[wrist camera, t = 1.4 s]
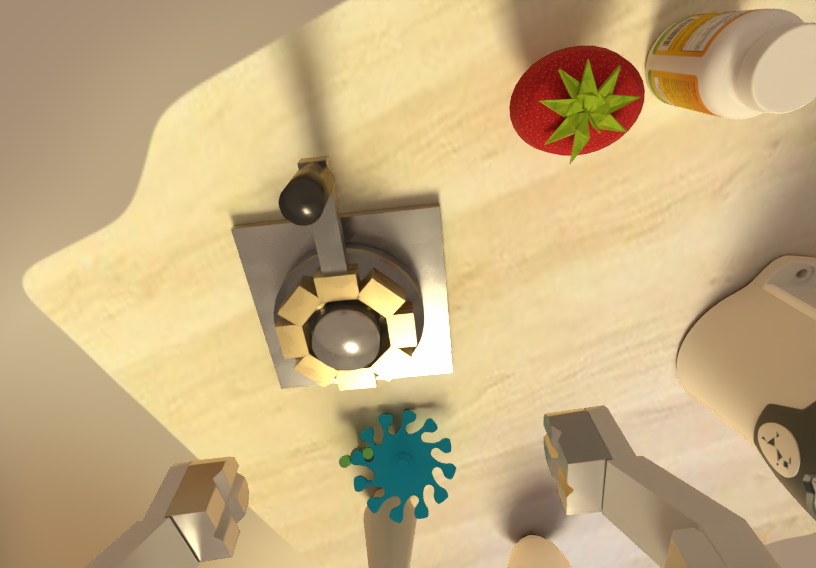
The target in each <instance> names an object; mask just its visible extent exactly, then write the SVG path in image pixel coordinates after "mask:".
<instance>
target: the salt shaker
mask: <svg viewBox="0 0 816 568" xmlns="http://www.w3.org/2000/svg"><path fill="white" fill-rule="evenodd" d="M382 496H384V489H383V488H381V489H378V490H376V492H375V494H374V496H373V497H382ZM400 503H401V500H400V498H399V497H397V496H393V497H391V498H389V499H387V500H386V501H384V502H383V504H382V505H381V507H380V509H379V511H378V512H377V513H372V512H371V510H370V509H369V507H368V506H367V507H366V509H365V512H364V528H365V538H366V547H367V556H368V565H369V568H410V562H411V555H412V548H413V541H414V534H415V527H416V520H417V518H415V515H414V510H415V508H414V506H413V505H412V503H411V501H410V499H408V500H407V501H406V503H405V505H404V511H403V512H404V517H403V520H402V522H401V523H397V522H395V521H393V520H391V519H390V518H389V514H390V512H391V510H392V509H393V508H394V507H397V506H399V505H400Z"/></svg>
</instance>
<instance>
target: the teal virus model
mask: <svg viewBox="0 0 816 568" xmlns="http://www.w3.org/2000/svg"><path fill="white" fill-rule="evenodd" d="M415 418H416V414H415V413H413V412H411V411H408V410H405V411H404V412H403V422H402V425H401V428H400V429H399V431H398V432H397V433H396V434H395V435H391V434H390V433H389V432H388V427H389V426H390V424H391V423H392V421H393V417H392V415H391V414H383V415H380V416H379V422H380V424H381V425H382V428H383V433H384V434H383V442H382V443H381V444H380V445H376V444H375V443H374V441H373V437H374V431H373V429H372V428H370V427H369V428H366V429H365V430H363V431H362V432H361V433H360V438H361V439H362V440H363V441H365V442H367V443H368V444H369V445H370V447H367V448H363V447H357V448H355V449H354V450H353V451H352V452H351V455H350V456H349V455H345V456H343V457H341V458H340V460H339V464H340V466H341V467H343V468H346V467H348V466H349V465H350V464H351V463H352V464H354V465H362V466H366V467H368V468H369V469H371V470H372V471H373V472H374V474H375V478H374V480H372V481H369V480H367V479H366V478H365V477H363V476H361V475H359V476H357V477H355V478H354V488H355V491H358V492H359V491H362V490H363V489H365V488H367V487H370V486H378V487H382V488H383V489H384V496H382V497H371V498H370V499H369V500H368V501H367V505H368V507H369V509H370V510H371V512H372V513H377V512H378V511H379V509H380V507H381V505H382V504H383V502H384V501H386V500H387V499H389V498H391V497H393V496H397V497H399V498H400V500H401V503H400V505H399V506H397V507H394V508H393V509H392V510H391V512H390V514H389V518H390V519H391V520H393V521H395V522H397V523H401V522H402V520H403V517H404V512H403V511H404V505H405V503H406V501H407V500H408V499H409V497H410V496H412V495H415V496H417V497H418V498H419V503H418V504H417V506H416V507H415V510H414V515H415V518H418V519H421V518H426V517H428V508H427V506H426V505H425V502H424V499H423V491H424V487H425V486H426V485H432V486H433V487H434V499H435V501H436V502H437V503H438V504H439V503H442V502H443V501H444V500H445V499H446V498H447V497H448V493H447V491H446V490H445V489H444V488H442V487H440V486H439V485H438V484H437V483H436V481H435V480H434V478H433V475H432V470H433V468H435V467H439V468H441V469H442V471H443V474H444V476H445V477H446V478H447V479H452V478H453V476H454V474H455V470H456V467H455V466H454V465H453V464H450V463H449V464H445V463H441V462H438V461H437V460H435V459H434V458H433V457H432V456H431V450H432V449H433V448H439V449H440V450H441V451H443V452H444V453H449V452H451V443H450V439H448V438H444V439H442V440H441V441H439V442H436V443H425V442H423V441H422V440H421V435H422V433H424V432H435V431H436V430H437V428H438V427H437V425H436V423H435V422H434V421H433V420H432V419H431V418H429V419H427V420H426V422H425V424H424V426H423V427H422V428H421V429H420V430H419V431H417V432H415V433H413V434H408V433H407V432H406V430H405V427H406V425H407V424H409V423H411V422H413V421H414V420H415Z"/></svg>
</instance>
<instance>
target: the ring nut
mask: <svg viewBox="0 0 816 568" xmlns="http://www.w3.org/2000/svg"><path fill="white" fill-rule="evenodd" d="M297 164H298V168H299V170H298V172H297V173H296V174H295V175H294V177H293V178H292V179H291V181H290V182H289V183H288V185H287V186H286V187H285V189H284V190H283V191H282V193H281V195H280V198H279V207H280V210H281V213H282V214H283V216H284V217H285V218H286V219H287V220H288V221H290V222H291V223H293V224H296V225H300V226H307V225H311V226H312V231H313V235H314V240H315V244H316V249H317V253H318V258H319V262H320V267H317V270H316V273H315V276H314V280H312V279H311V278H309V277H308V276H306V275H303V276H302V278H301V279H300V280H299V281H298V283H297V284H296V285H295V286H294V288H293V289H292V290H291V292H290V293H289V294H288V295H287V297H286V298H285V299H284V301H283V302H282V304H281V307H280V309H279V311H278V315H280V316H279V319H278V321H277V323H276V326H275V329H276V332H277V336H278V339H279V342H280V346H281V349H282V352H283V356H284V359H287V358H297V360H296V363H295V366H294V370H296V371H297V372H299V373H301V374H303V375H304V376H306V377H308V378H310V379H311V380H313V381H315V382H317V383H318V384H320V385H322V386H324V387H326V386H327V385H328V384H329V383H330V382H331V380H332V379H333V378H334V377H335V376H337V381H338V385H339V389H340V390H349V389H359V388H370V387H376V382H377V374H378V375H380V376H381V377H383V378H384V379H386V380H388V381H390V380H391V379H392V378H393V377H394V376H395V375H396V374H397V373H398V372H399V371H400V370H401V369H402V368H403V367H404V366H405V365H406V364H407V363H408V362H409V361H410V360H411V359H412V358H413V357H412V346H417V337H416V326H415V318H414V309H413V301H406V302H405V289H404V288H403V287H401V286H400V285H399V284H397V283H396V282H394V281H393V280H391V279H390V278H389V277H387V276H386V275H384V274H383V273H381V272H380V271H378V270H377V269H376V268H374V267H373V268H372V269H371V271H370V272H369V273H368V274H367V275H366V276H365V278H364V279H363V280H362V281H361V279H360V273H359V268H358V263H353V264H349V262H348V257H347V251H346V246H345V241H344V235H343V230H342V225H341V220H340V214H339V209H338V204H337V198H336V193H335V188H334V176H333V174H332V172H331V167H330V161H329V156H322V157H313V158H304V159H301V160H300V161H299V162H298V163H297ZM351 299H359V300H360V301H362V302H363V303H365V304H366V305H368V306H369V307H371V308H372V309H374V310H375V311H377V312H378V313H380V314H381V315H383V316H384V317H386V318H387V324H388V330H389V336H388V337H387V338H386V339H385V340H384V342H383V343H382V344H381V345H380V346H379V351H378V354H377V356H376V358H375V359H374V360H373V361H372V362H371V363H370V364H369V365H367V366H365V367H364V368H361V369H358V370H353V371H342V370H337V369H333V368H331V367H329V366H327V365H325V364H324V363H322V362H321V361H320V360H319V359H318V358H317V356H316V355H315V353H314V351H313V348H312V334H311V331H310V327H309V323H308V318H309V317H310V316H311V315H312V313H313V312H314V311H315V310H316V309H317V307H318V306H319V305H320V304H321V303H322V302H331V301H341V300H351Z"/></svg>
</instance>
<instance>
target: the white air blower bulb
mask: <svg viewBox="0 0 816 568" xmlns="http://www.w3.org/2000/svg"><path fill="white" fill-rule="evenodd" d="M507 568H572V566H571V564H570V563H569V561H568V560H567V558H566V557H565V555H564V554H563V553H562V552H561V550H560V549H559V548H558V547H557V546H556V545H555V544H553V543H552V542H550V541H548V540H546V539H544V538H543V537H540V536H536V535H528V536H526V537H524V538H522V539H521V540H520V541H519V542H518V543H517V545H516V546H515V547H514V548H513V549H512V552H511V554H510V558H509V561H508V567H507Z"/></svg>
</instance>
